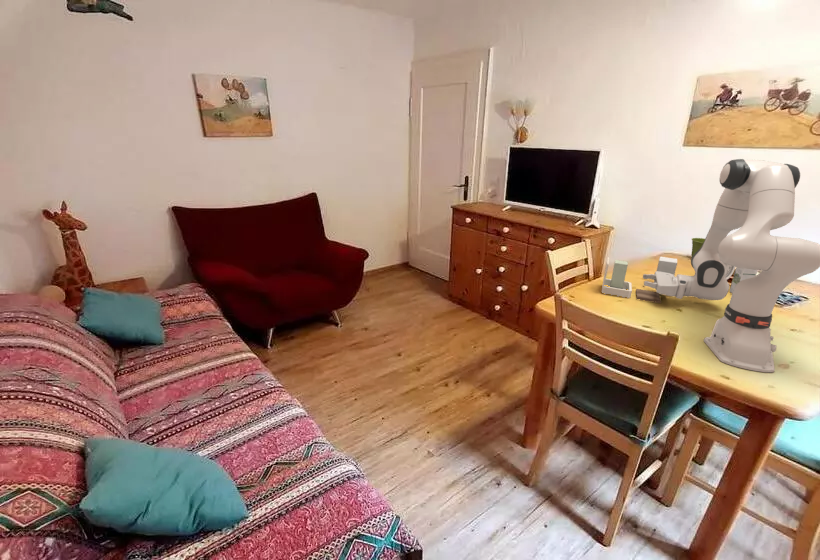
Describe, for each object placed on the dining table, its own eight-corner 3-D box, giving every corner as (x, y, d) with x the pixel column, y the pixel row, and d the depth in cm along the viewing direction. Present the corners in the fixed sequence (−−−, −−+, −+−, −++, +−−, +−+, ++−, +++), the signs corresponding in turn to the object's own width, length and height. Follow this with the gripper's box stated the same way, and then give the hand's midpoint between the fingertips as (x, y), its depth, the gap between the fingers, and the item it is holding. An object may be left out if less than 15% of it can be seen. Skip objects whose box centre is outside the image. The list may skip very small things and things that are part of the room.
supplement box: (671, 283, 195) (678, 258, 190) (671, 288, 189) (677, 262, 185) (653, 280, 199) (659, 256, 194) (652, 285, 193) (659, 260, 188)
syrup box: (749, 297, 180) (760, 266, 175) (734, 296, 181) (744, 265, 176) (742, 292, 186) (752, 262, 180) (727, 291, 187) (737, 261, 181)
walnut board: (660, 303, 173) (661, 301, 173) (636, 299, 177) (637, 297, 177) (658, 294, 183) (659, 292, 182) (635, 290, 186) (636, 288, 186)
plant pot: (712, 264, 223) (718, 244, 219) (686, 260, 228) (692, 241, 224) (710, 258, 232) (716, 239, 228) (686, 255, 238) (691, 236, 234)
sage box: (621, 294, 182) (627, 264, 177) (609, 292, 184) (615, 263, 179) (621, 290, 186) (627, 261, 181) (609, 288, 188) (615, 259, 183)
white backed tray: (630, 298, 178) (637, 268, 173) (601, 293, 182) (607, 264, 177) (629, 289, 188) (636, 260, 183) (602, 285, 192) (607, 256, 187)
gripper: (679, 270, 180) (644, 265, 186) (685, 286, 163) (646, 280, 169) (675, 283, 183) (641, 278, 188) (681, 300, 166) (642, 294, 171)
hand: (643, 279), depth 178 cm, fingers open, 8 cm apart
